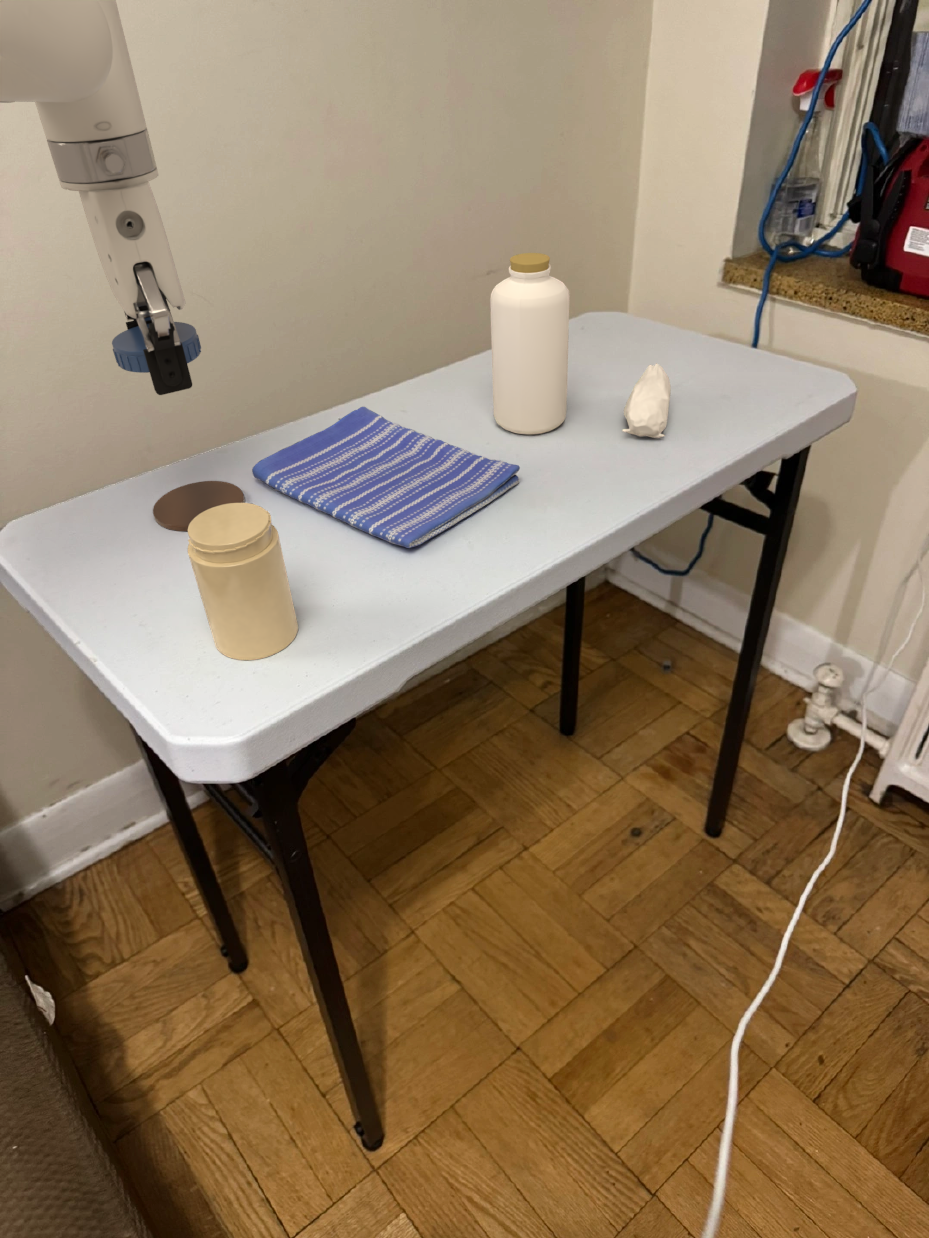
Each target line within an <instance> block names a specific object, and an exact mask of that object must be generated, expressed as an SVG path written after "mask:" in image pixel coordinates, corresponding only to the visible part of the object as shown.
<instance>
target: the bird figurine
mask: <svg viewBox="0 0 929 1238" xmlns="http://www.w3.org/2000/svg"><path fill="white" fill-rule="evenodd" d="M671 388H672V387H671V381H670V378H669V376H668V374H667V372H666V371H665V370H664V367H663V366H661V364H658V363H655V364H654V365H653V364H649V365H648V366H647V367H646V369H645V370H644V372H643V373H642V375H640V377H639V379H638V380H637V382H635V385H634V386H633V388H632V390H631V393H630V394H629V397H628V399H627V401H626V402H625V403H626V404H625V406H624V408H623V416H624V417H625V419H626V421H627V426H628V428H623V429H622V430H621V431H622V433H627V434H630V435H632V436H637V437H649V438H653V439H660V438H664V437H665V436H666V435H665V434H662V432H663V431H664V430H666V428H667V425H668V418H669V417H668V416H669V409H670V400H671V394H672V392H671V391H672V390H671Z"/></svg>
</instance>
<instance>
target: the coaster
mask: <svg viewBox="0 0 929 1238" xmlns="http://www.w3.org/2000/svg"><path fill="white" fill-rule="evenodd" d="M245 501H246V500H245V495H244V492H243V490H242V489H241V488H240V487H239V486H237V485H236V484H234V483H231V482H227V481H223V480H222V481H221V480H203V481H196V482H192V483H187V484H184V485H180V486H178V487H176V488H174V489H171V490H170V491H168V492H166V493H165V494H163V495H161V497H160V498H159V499H158V500H157V501H156V502H155V503H154V505H153V508H152V514H153V518H154V520H155V522H156V523H157V524H158V525H159V526H160V527H162V528H164V529H167V530H171V531H176V532H188V526H189V524H190V522H191V521H192V520H193V519H194V518H195V517H196V516H197V515H199V514H200V513H202V512H204V511H206V510H208V509H210V508H213V507H216V506H219V505H223V504H229V503H246V502H245Z"/></svg>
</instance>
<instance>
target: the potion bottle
mask: <svg viewBox="0 0 929 1238" xmlns="http://www.w3.org/2000/svg"><path fill="white" fill-rule="evenodd" d="M550 260H551V257H550V256H549V255H548V254H545V253H540V252H523V253H518V254H515V255H513V256H511V257H510V258H509V263H510V265H509V267H508V273H509V275H510V276H508V277H506V278H504V279H503V280H502V281H500V282H499V283H497V284H496V285H495V286H494V287H493V289H492V291H491V293H490V298H489V303H490V304H489V306H490V307H489V308H490V333H491V334H490V338H491V370H492V372H491V373H492V375H491V376H492V403H493V405H492V407H493V418H494V420H495V422H496V424H497V425H498V426H500V427H501V428H502V429H504V430H505V431H508V432H511V433H512V434H513V433H514V434H520V435H539V434H544V433H548V432H551V431H553V430H554V429H557V428H559V426H561V425H562V423H563V422H564V421H565V420H566V418H567V410H568V409H567V407H568V372H569V371H568V370H569V369H568V368H569V336H570V335H569V333H570V299H571V297H570V295H571V294H570V290H569V288H568V287H567V285H566V284H565V283H564V282H563V281H562V280H560V279H558V278H556V277H554V276H552V275H550V273H551V270H552V265H551V264H550Z"/></svg>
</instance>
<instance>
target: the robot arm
mask: <svg viewBox="0 0 929 1238" xmlns="http://www.w3.org/2000/svg"><path fill="white" fill-rule="evenodd" d="M15 102H17V103H25V102H26V103H35V108H36V109H37V113H38V116H39V119H40V123H41V126H42V128H43V132H44V136H45V139H46V143H47V147H48V149H49V152H50V155H51V160H52V162H53V165H54V169H55V172H56V175H57V178H58V181H59V184H60V187H61V188H62V189H63V190H66V191H67V190H68V191H72V192H78V194H79V197H80V200H81V205H82V207H83V210H84V214H85V218H86V221H87V224H88V227H89V229H90V233H91V236H92V237H91V238H92V240H93V243H94V247H95V249H96V252H97V255H98V258H99V261H100V264H101V267H102V270H103V272H104V274H105V277H106V279H107V283H108V285H109V287H110V289H111V292H112V294H113V296H114V298H115V299H116V301H117V302H118V304H119V305H120V307H121V308H122V310H123V313H124V316H125V318H126V320H127V321H126V322H125V325H126V330H128V329H131V328H134V327H137V326H139V328H140V331H141V334H142V337H143V340H144V343H145V346H146V348H147V349H144V350H143V351H144V355H145V358H146V362H147V365H148V368H149V375H150V378H151V383H152V385H153V388H154V392H155V393H156V395H158V396H164V395H167V394H172V393H176V392H177V393H178V392H181V391H184V390H189V389H191V388H192V387H193V379H192V377H191V373H190V369H189V365H188V363H187V361H186V357H185V353H184V349H183V346H182V343H181V342H180V339H179V336H178V333H177V330H176V327H175V324H174V322H175V321H174V317H173V315H172V312H171V309H170V306H169V304H170V305H171V307H172V308H176V309H177V310H179V311H181V310H183V309H184V308H185V306H186V299H185V295H184V292H183V288H182V285H181V281H180V279H179V275H178V271H177V268H176V264H175V262H174V258H173V254H172V250H171V247H170V244H169V239H168V236H167V232H166V230H165V225H164V222H163V219H162V216H161V213H160V210H159V207H158V205H157V201H156V198H155V195H154V192H153V190H152V187H151V185H150V181H153V180H156V178H158V177H159V170H158V167H157V163H156V158H155V154H154V151H153V147H152V143H151V138H150V134H149V131H148V130H149V129H148V127H147V123H146V119H145V115H144V110H143V106H142V101H141V98H140V94H139V89H138V86H137V82H136V76H135V72H134V68H133V65H132V61H131V57H130V53H129V48H128V45H127V41H126V36H125V32H124V28H123V23H122V20H121V16H120V12H119V8H118V4H117V0H0V104H10V103H15ZM150 323H151V324H150ZM146 324H149V328H147V325H146Z"/></svg>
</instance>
